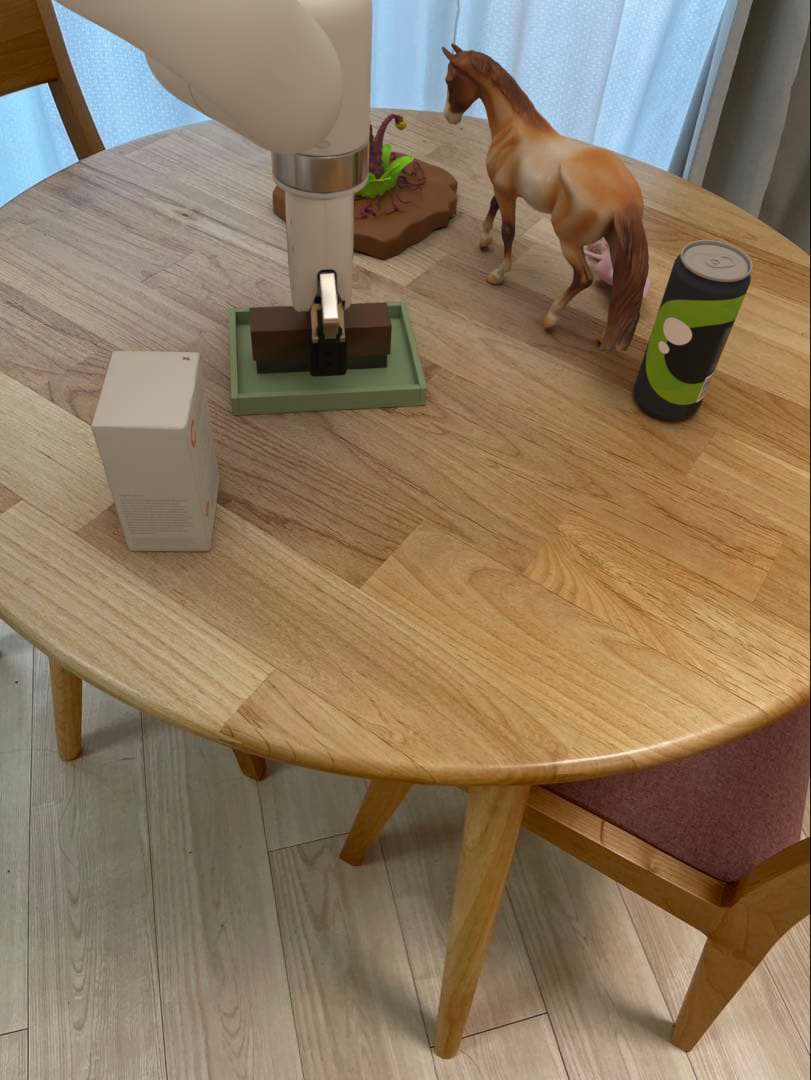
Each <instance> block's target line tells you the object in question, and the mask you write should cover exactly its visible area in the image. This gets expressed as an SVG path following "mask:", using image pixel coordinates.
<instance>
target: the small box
mask: <svg viewBox="0 0 811 1080" xmlns="http://www.w3.org/2000/svg"><path fill="white" fill-rule="evenodd" d="M205 383H206V382H205V377H204V371H203V365H202V359H201V353H200V352H191V351H158V350H157V351H156V350H152V351H151V350H143V351H142V350H120V351H119V350H112V351H111V353H110V357H109V360H108V364H107V367H106V371H105V374H104V378H103V381H102V385H101V388H100V392H99V395H98V397H97V403H96V406H95V410H94V413H93V416H92V420H91V424H90V428H91V432H92V435H93V437H94V441H95V444H96V448H97V452H98V454H99V457H100V460H101V464H102V467H103V471H104V474H105V476H106V481H107V484H108V486H109V490H110V494H111V497H112V500H113V503H114V506H115V510H116V513H117V517H118V519H119V522H120V526H121V530H122V533H123V536H124V539H125V543H126V546H127V550H128V551H130V552H209V551H211V547H212V546H211V545H212V540H213V532H214V526H215V518H216V510H217V503H218V495H219V488H220V482H221V481H220V472H219V466H218V460H217V454H216V448H215V442H214V436H213V430H212V424H211V415H210V409H209V402H208V394H207V391H206V384H205Z"/></svg>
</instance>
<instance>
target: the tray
mask: <svg viewBox="0 0 811 1080" xmlns="http://www.w3.org/2000/svg"><path fill="white" fill-rule="evenodd" d="M386 302H387V306H388V310H389V315H390V319H391V324H392V334H391V353H390V355H388V356H387V368H370V369H349V370H347V372H346V374H345V375H340V376H319V377H313V376H311V375H310V371H307V372H287V373H266V374H257V366H256V361H253V353H252V343H251V333H250V314H249V308H250V307H231V308H228V328H229V330H228V331H229V363H230V365H229V366H230V367H229V369H230V399H231V401H230V402H231V408H232V415H233V416H247V415H268V414H269V415H270V414H283V413H285V414H286V413H287V414H288V413H305V412H323V411H341V410H359V409H360V410H361V409H376V408H377V409H378V408H380V409H381V408H395V407H398V408H399V407H413V406H415V407H416V406H426V403H427V393H428V387H427V382H426V378H425V374H424V371H423V366H422V361H421V358H420V353H419V350H418V346H417V342H416V337H415V334H414V330H413V326H412V323H411V317H410V314H409V310H408V309H409V308H408V306H407V301H389V302H388V301H386Z"/></svg>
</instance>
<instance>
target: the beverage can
mask: <svg viewBox="0 0 811 1080" xmlns="http://www.w3.org/2000/svg"><path fill="white" fill-rule="evenodd" d="M753 267H754V264H753V261H752V259H751V257H750V256H749V255H748V254H747V253H746V252H745V251H743V249H740V248H739V247H737V246H735V245H733V244H730V243H727V242H724V241H720V240H713V239H698V240H694V241H691V242H688V243H687V244H685V245H684V246H683V247H682V249H681V251H680V254H678V255H677V256H676V258H675V260H674V261H673V265H672V268H671V271H670V274H669V278H668V280H667V283H666V287H665V289H664V293H663V296H662V299H661V302H660V305H659V308H658V310H657V314H656V317H655V320H654V324H653V326H652V330H651V333H650V336H649V338H648V342H647V345H646V348H645V350H644V354H643V358H642V361H641V364H640V367H639V370H638V372H637V376H636V379H635V382H634V385H633V397H634V398H635V400H636V401H637V404H638V405H639V408H641V409H642V410H643V411H644V412H645V413H647V414H648V415H650V416H652V417H654V418H656V419H659V420H662V421H663V420H664V421H680V420H683V419H686V418H688V417H690V416H693V415H694V414H695V413H697V412H698V411H699V409H700V408H701V405H702V404H703V403H702V402H703V400H704V399H705V397H706V396H705V395H706V393H707V391H708V388H709V386H710V383H711V381H712V378H713V376H714V373H715V371H716V369H717V366H718V364H719V362H720V358H721V356H722V354H723V351H724V349H725V346H726V344H727V342H728V339H729V337H730V335H731V332H732V329H733V327H734V324H735V322H736V319H737V318H738V314H739V312H740V310H741V307H742V305H743V302H744V299H745V297H746V295H747V292H748V291H749V287H750V285H751V281H752V276H751V273H752V270H753Z"/></svg>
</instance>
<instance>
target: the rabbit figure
mask: <svg viewBox="0 0 811 1080" xmlns="http://www.w3.org/2000/svg"><path fill="white" fill-rule="evenodd" d="M583 250H584V254H585V257H589V258H592V259H594V260H597V261H599V262H598V263H596V264H595V266H594V268H593V272H594V275H596V277H598V278H599V279H600V280H602V281H603V282H605V283H606V284H607V285H610V286H612V287H613V268H612V263H611V257H610V250H609V245H608V243H607V241H606V240H605V239H604V237H603V238H601V239H600V240H599V241H597V242H595V243H592V244H589V245H586V249H584V248H583ZM651 285H652V281H651V277H650V275H649V274H648V276H647V279H646V284H645V287H644V292H643V299H642V300H644V299H645V298H647V296H648V295H649V292H650V288H651Z"/></svg>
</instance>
